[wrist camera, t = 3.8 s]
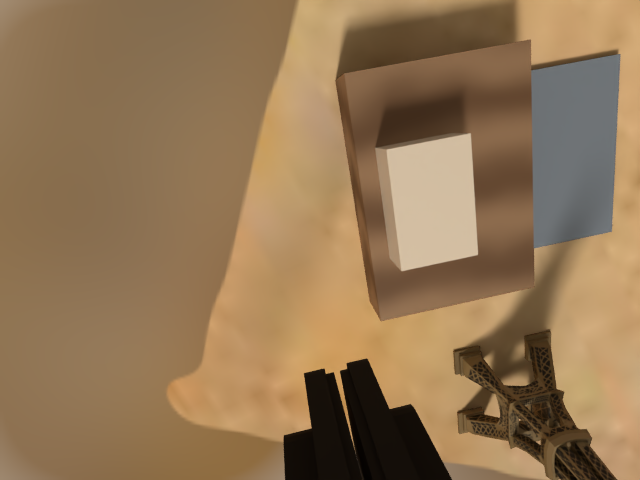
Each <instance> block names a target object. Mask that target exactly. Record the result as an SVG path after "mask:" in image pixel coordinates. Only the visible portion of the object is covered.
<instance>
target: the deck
mask: <svg viewBox="0 0 640 480" xmlns="http://www.w3.org/2000/svg"><path fill="white" fill-rule="evenodd" d="M336 87H337V93H338V100H339V106H340V113H341V119H342V125H343V132H344V138H345V145H346V151H347V158H348V164H349V170H350V177H351V183H352V190H353V196H354V203H355V209H356V216H357V222H358V228H359V235H360V241H361V248H362V254H363V261H364V267H365V273H366V280H367V286H368V293H369V299H370V303H371V304H372V306H373V308H374V310H375V311H376V313H377V315H378V317H379V319H380V320H381V321H384V320H388V319H393V318H398V317H402V316H407V315H411V314H416V313H420V312H425V311H429V310H434V309H438V308H443V307H447V306H452V305H456V304H461V303H465V302H470V301H474V300H479V299H483V298H488V297H492V296H497V295H501V294H506V293H510V292H515V291H519V290H524V289H528V288H533V287H534V227H533V157H532V86H531V40H526V41H520V42H515V43H509V44H503V45H498V46H492V47H487V48H481V49H476V50H470V51H465V52H459V53H454V54H448V55H443V56H437V57H432V58H426V59H421V60H415V61H410V62H404V63H399V64H393V65H387V66H382V67H376V68H371V69H365V70H360V71H354V72H349V73H344V74H343V75H342V76H340V77H339V78H338V79H337V80H336ZM449 133H471V145H472V161H473V178H474V195H475V211H476V228H477V245H478V255H475V256H471V257H466V258H461V259H457V260H452V261H448V262H443V263H438V264H434V265H429V266H424V267H420V268H415V269H410V270H406V271H401V270H400V269H399V268H398V267H397V266H396V265H395V264H394V262H393V261H392V260H391V259H390V256H389V248H388V241H387V233H386V226H385V218H384V211H383V203H382V196H381V188H380V181H379V173H378V166H377V158H376V151H375V148H377V147H382V146H387V145H392V144H397V143H403V142H408V141H413V140H418V139H423V138H428V137H434V136H439V135H444V134H449Z"/></svg>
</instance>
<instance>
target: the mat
mask: <svg viewBox="0 0 640 480" xmlns="http://www.w3.org/2000/svg"><path fill="white" fill-rule="evenodd" d="M619 72H620V54H617V55H612V56H606V57H601V58H596V59H590V60H585V61H580V62H574V63H569V64H563V65H558V66H553V67H547V68H542V69H537V70H531V86H532V157H533V227H534V248H538V247H542V246H547V245H552V244H556V243H561V242H566V241H570V240H575V239H580V238H584V237H589V236H594V235H598V234H603V233H607V232H612V215H613V194H614V174H615V154H616V133H617V113H618V92H619Z"/></svg>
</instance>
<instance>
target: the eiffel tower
mask: <svg viewBox="0 0 640 480" xmlns="http://www.w3.org/2000/svg"><path fill="white" fill-rule="evenodd" d="M453 354H454V369H455V374H456V375H457V374H460V375H461V376H462V375H465V377H467V378H469V379H470V380H472V381H474V382H476V383H477V384H479V385H481V386H482V387H484V388H486V389H487V390H489V391H491V392H493V393H494V394H496V397H497V400H498V404H499V409H500V418H498V417H493V416H488V415H484V410H483V409H482V407H479V408H475V409H470V410H466V411H461V412H457V415H458V430H459V434H462V433H466V432H470V433H472V434H475V435H480V436H485V437H490V438H495V439H500V440H506V441H509V444H510V448H511V449H512V448H514V447H518V448H520V449H522V450H524V451H526V452H527V453H528V454H530V455H531V456H532V457H534V458H535V459H536V460H538V461H539V462H540V463H542V464H543V465H544V467H545V473H546V476H547V477H548V478H550V479H551V480H559V479H561V480H617V479H616V478H615V477H614V475H613V474H612V473H611V472H610V470H609V469H608V468H607V467H606V465H605V464H604V463H603V462H602V460H601V459H600V458H599V457H598V455H597V454H596V453H595V452H594V451H593V449H592V448H591V447H590V444H591V440H592V437H591V436H590V434H589V432H588V431H587V429H582V430H580V429H578V428H577V427H576V425H575V423H574V421H573V420H572V418H571V416H570V415H569V413H568V411H567V410H566V408H565V405H564V403H563V395H564V392H563V391H561V390H558V389H556V381H555V373H554V366H553V359H552V352H551V331H545V332H540V333H536V334H531V335H526V336H525V359H526V360H527V361H532V365H533V371H534V377H535V380H534V382H532V383H531V384H529V385H527V386H507V385H503V383H502V382H501V381H500V379H499V378H498V377H497V376H496V374H495V373H494V372H493V370H492V369H491V368H490V367H489V365H488V364H487V363H486V361H485V360H484V359H483V358H482V352H481V351H480V346H474V347H469V348H465V349H460V350H455V351H453ZM519 419H520V420H521V421H519ZM540 440H541V445H539V444H538V443H536V441H540Z"/></svg>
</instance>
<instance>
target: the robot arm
mask: <svg viewBox="0 0 640 480" xmlns="http://www.w3.org/2000/svg"><path fill="white" fill-rule="evenodd" d="M340 374H341V379H342V384H343V389H344V395H345V400H346V405H347V410H348V415H349V421H350V426H351V431H352V436H353V441H354V446H353V442H352V439H351V435H350V431H349V427H348V424H347V420H346V416H345V412H344V409H343V405H342V401H341V397H340V394H339V390H338V386H337V383H336V379H335V375H334V372H333V373H329V374H326V373H325V369H320V370H316V371H312V372H307V373H304V377H305V384H306V391H307V398H308V405H309V412H310V419H311V426H312V429H308V430H304V431H300V432H296V433H292V434H288V435H284V462H285V480H452V479H451V477H450V475H449V473H448V471H447V469H446V468H445V466H444V464H443V462H442V460H441V458H440V456H439V454H438V452H437V450H436V448H435V447H434V445H433V443H432V441H431V439H430V437H429V435H428V433H427V431H426V430H425V428H424V426H423V424H422V422H421V420H420V418H419V416H418V414H417V412H416V411H415V409H414V407H413V406H412V405H411V404H409V405H405V406H401V407H397V408H393V409H389V407H388V405H387V402H386V400H385V398H384V396H383V393H382V391H381V389H380V386H379V384H378V382H377V379H376V377H375V375H374V373H373V370H372V368H371V366H370V363H369V361H368V359H362V360H358V361H354V362H350V363H347V369H346V370H341V371H340ZM354 447H355V450H354ZM355 452H356V453H355ZM356 456H357V457H356Z"/></svg>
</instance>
